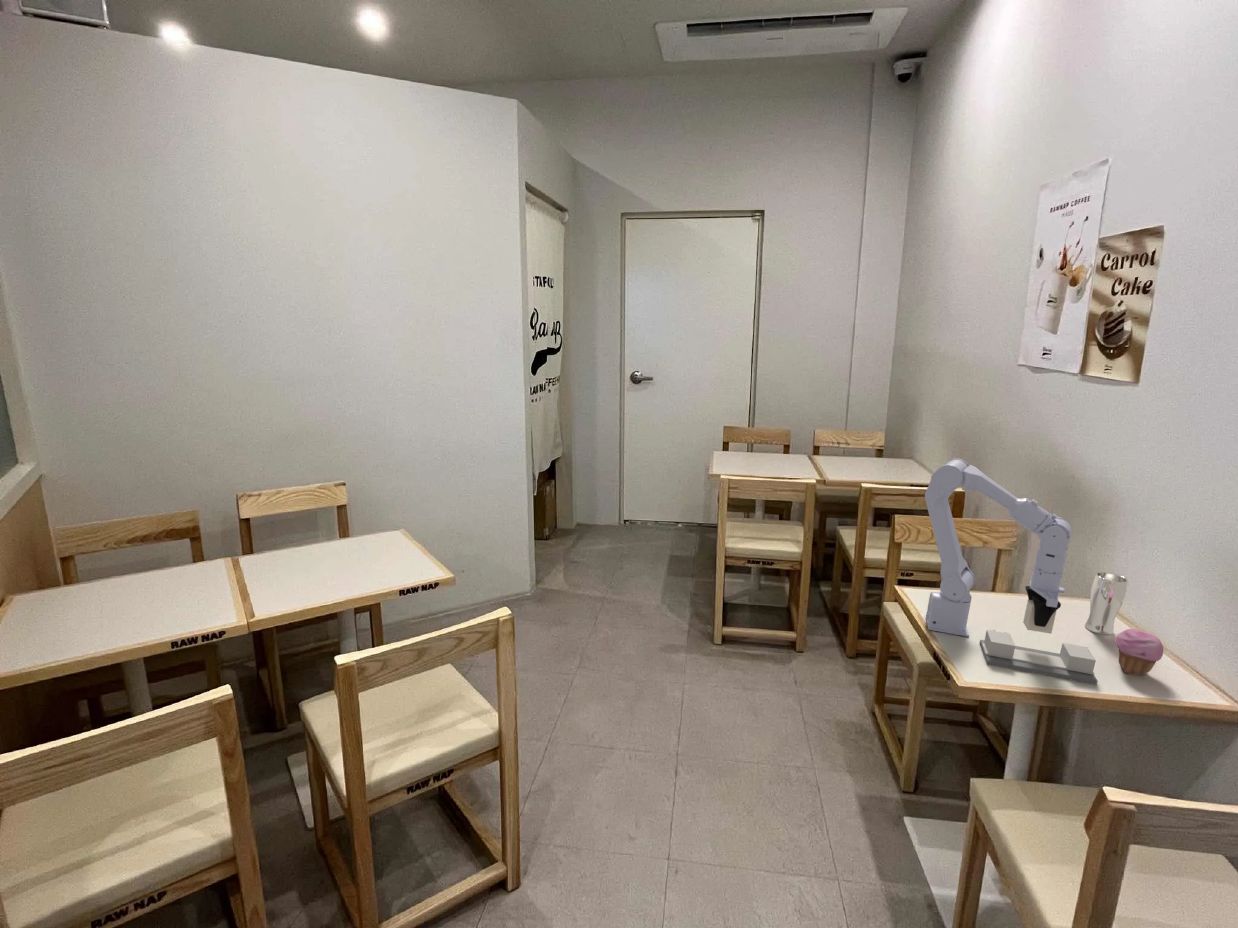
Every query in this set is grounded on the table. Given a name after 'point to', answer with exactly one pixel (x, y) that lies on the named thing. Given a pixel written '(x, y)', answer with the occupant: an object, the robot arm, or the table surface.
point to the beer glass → (1105, 602)
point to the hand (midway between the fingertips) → (1037, 621)
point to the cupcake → (1138, 651)
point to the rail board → (1039, 658)
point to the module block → (1030, 620)
